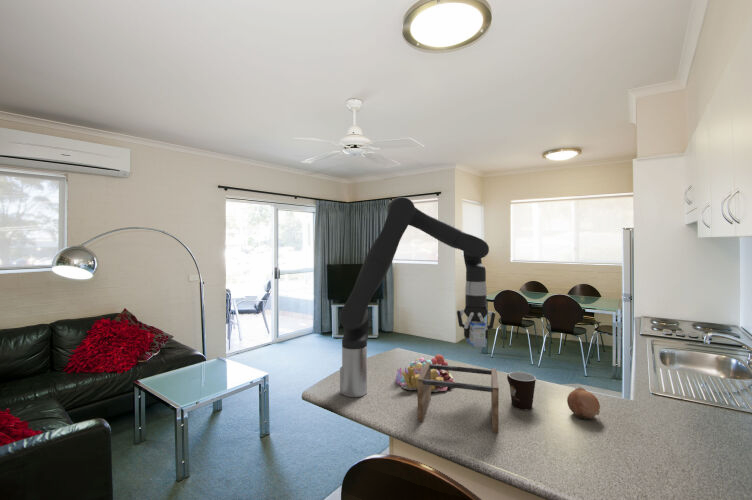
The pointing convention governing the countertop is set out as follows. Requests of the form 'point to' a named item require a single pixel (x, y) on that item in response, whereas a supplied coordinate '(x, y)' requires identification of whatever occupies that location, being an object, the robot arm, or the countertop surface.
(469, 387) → the frame
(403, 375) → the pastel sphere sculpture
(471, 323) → the medicine box
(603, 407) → the countertop surface
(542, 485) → the countertop surface
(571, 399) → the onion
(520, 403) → the coffee mug
